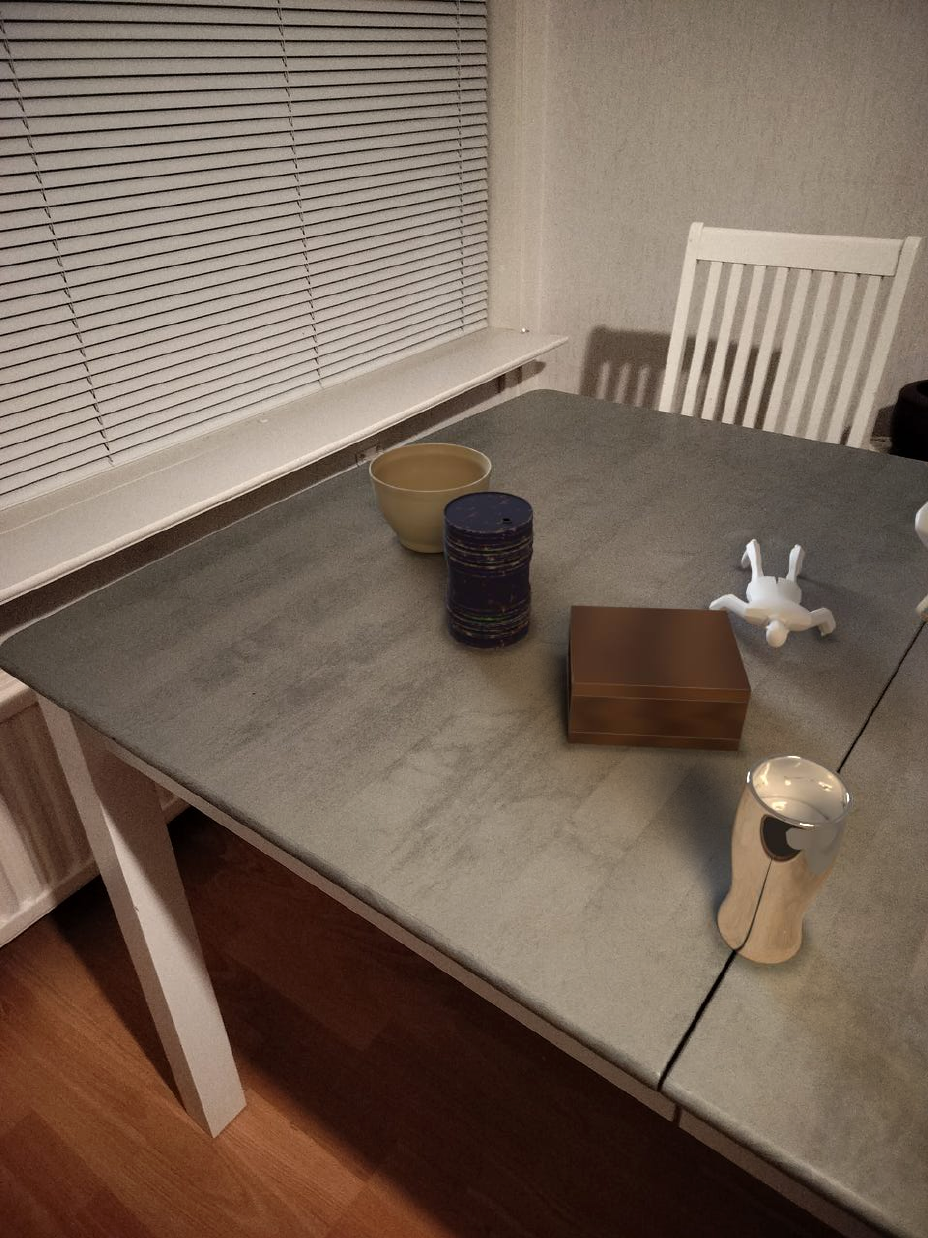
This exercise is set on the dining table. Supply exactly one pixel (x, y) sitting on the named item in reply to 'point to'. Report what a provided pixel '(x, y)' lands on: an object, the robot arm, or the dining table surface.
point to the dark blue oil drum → (488, 568)
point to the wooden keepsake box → (655, 678)
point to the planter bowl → (425, 488)
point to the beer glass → (781, 853)
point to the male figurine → (775, 600)
